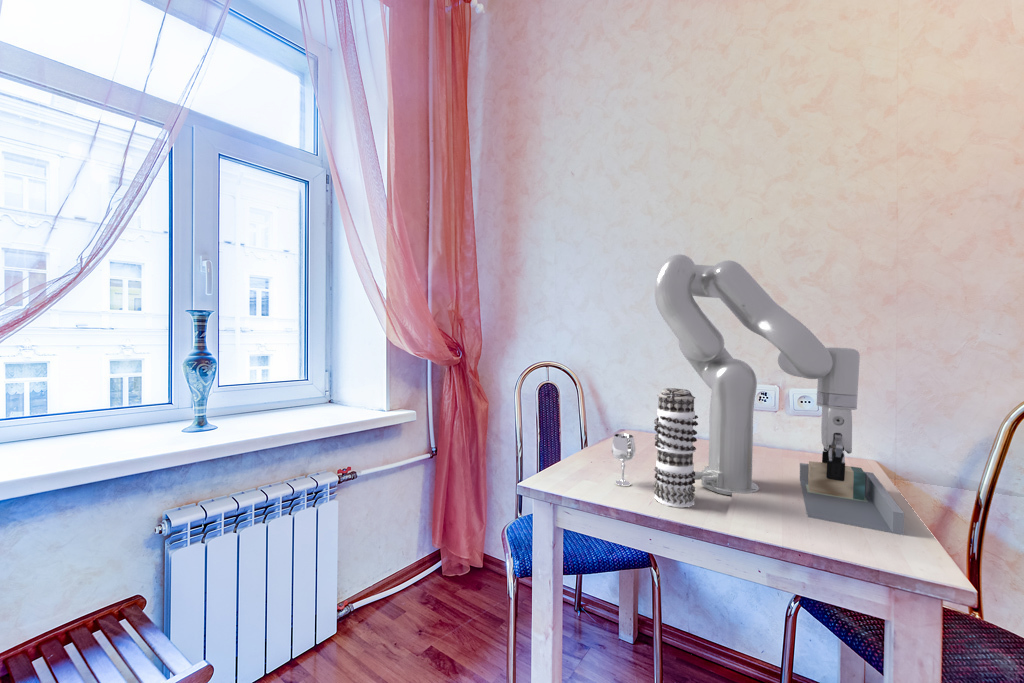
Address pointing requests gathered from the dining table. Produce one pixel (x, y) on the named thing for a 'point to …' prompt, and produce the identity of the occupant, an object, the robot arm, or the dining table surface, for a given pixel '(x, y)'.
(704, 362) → the robot arm
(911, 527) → the dining table surface
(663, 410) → the decorative candle
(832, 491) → the oak block
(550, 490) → the dining table surface
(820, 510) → the tray
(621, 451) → the wineglass
